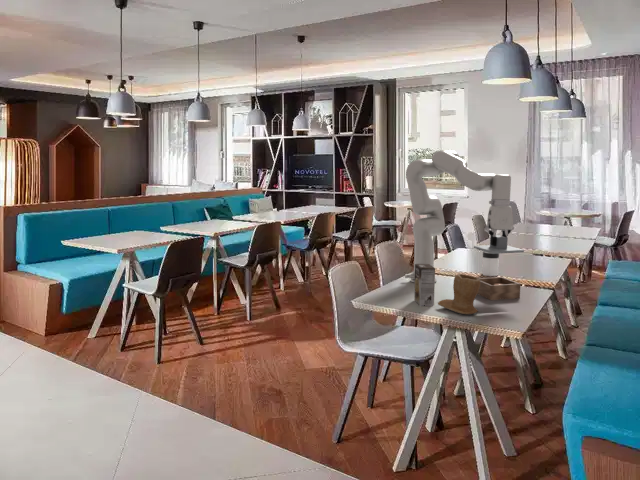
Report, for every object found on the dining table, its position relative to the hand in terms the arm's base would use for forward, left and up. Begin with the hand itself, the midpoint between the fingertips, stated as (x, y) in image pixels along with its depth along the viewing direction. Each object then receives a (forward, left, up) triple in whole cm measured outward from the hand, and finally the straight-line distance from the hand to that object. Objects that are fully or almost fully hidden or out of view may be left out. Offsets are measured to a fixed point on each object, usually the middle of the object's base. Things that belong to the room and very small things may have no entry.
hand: (498, 244), depth 234 cm
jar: (+22, +41, -23) cm, 52 cm away
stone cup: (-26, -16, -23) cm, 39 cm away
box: (0, 0, -23) cm, 23 cm away
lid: (0, 0, -2) cm, 2 cm away
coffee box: (-35, -1, -23) cm, 42 cm away
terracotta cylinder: (+3, +3, -22) cm, 23 cm away
